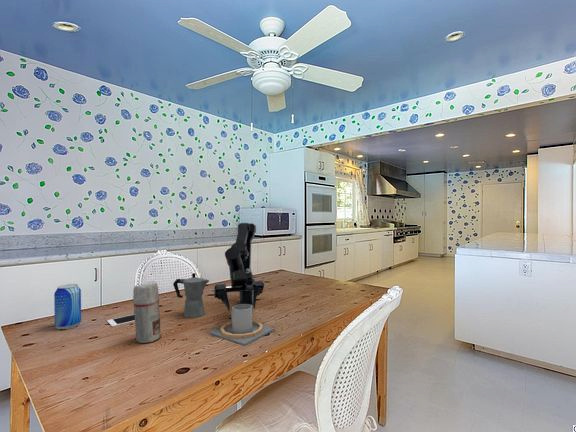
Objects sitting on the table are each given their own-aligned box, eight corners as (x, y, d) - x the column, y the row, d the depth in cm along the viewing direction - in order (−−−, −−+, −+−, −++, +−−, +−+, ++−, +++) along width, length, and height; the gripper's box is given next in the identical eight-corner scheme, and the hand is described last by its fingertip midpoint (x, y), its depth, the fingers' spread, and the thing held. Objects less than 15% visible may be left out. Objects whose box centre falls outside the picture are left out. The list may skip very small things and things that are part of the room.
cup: (240, 336, 104) (240, 311, 104) (224, 329, 111) (223, 305, 111) (256, 330, 109) (256, 306, 109) (239, 324, 116) (239, 301, 116)
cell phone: (159, 317, 128) (159, 314, 128) (112, 328, 116) (111, 325, 116) (152, 312, 135) (152, 310, 135) (106, 322, 123) (106, 320, 123)
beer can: (86, 323, 120) (85, 284, 120) (64, 331, 112) (64, 289, 112) (71, 321, 123) (71, 282, 123) (49, 329, 115) (48, 287, 115)
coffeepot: (211, 310, 135) (211, 270, 135) (206, 317, 126) (206, 275, 126) (177, 311, 135) (176, 271, 135) (169, 318, 125) (169, 275, 125)
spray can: (143, 346, 99) (142, 286, 99) (129, 341, 103) (128, 283, 103) (166, 337, 106) (165, 281, 106) (151, 332, 110) (151, 278, 110)
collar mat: (208, 333, 109) (208, 328, 109) (239, 320, 122) (239, 316, 122) (244, 345, 99) (244, 340, 98) (274, 330, 112) (274, 325, 112)
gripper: (214, 263, 112) (217, 300, 102) (262, 260, 118) (270, 295, 108) (213, 279, 120) (215, 316, 110) (258, 276, 126) (265, 310, 115)
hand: (241, 309), depth 110 cm, fingers open, 9 cm apart
